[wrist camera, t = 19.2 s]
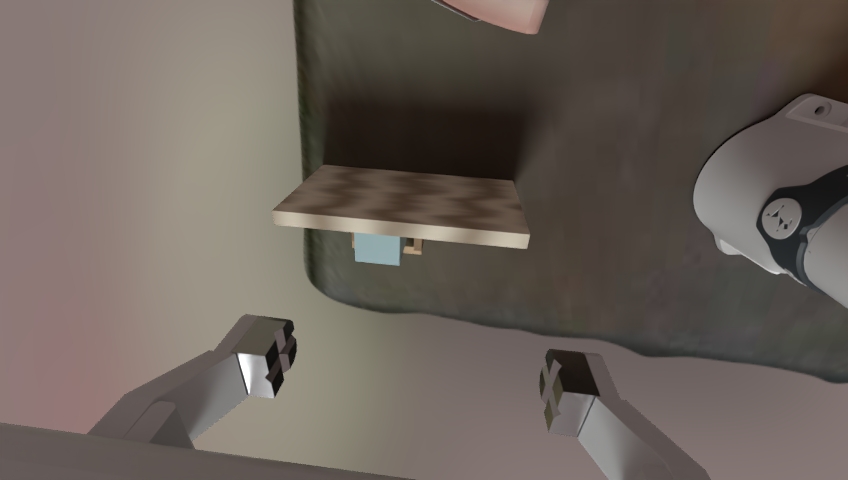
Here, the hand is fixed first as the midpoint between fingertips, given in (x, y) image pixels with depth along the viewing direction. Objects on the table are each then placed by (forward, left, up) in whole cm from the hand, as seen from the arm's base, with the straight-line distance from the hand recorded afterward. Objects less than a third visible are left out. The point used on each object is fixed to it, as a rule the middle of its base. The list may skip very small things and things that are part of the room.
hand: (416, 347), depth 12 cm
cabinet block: (+7, +11, -35) cm, 38 cm away
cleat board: (+4, +11, -35) cm, 37 cm away
